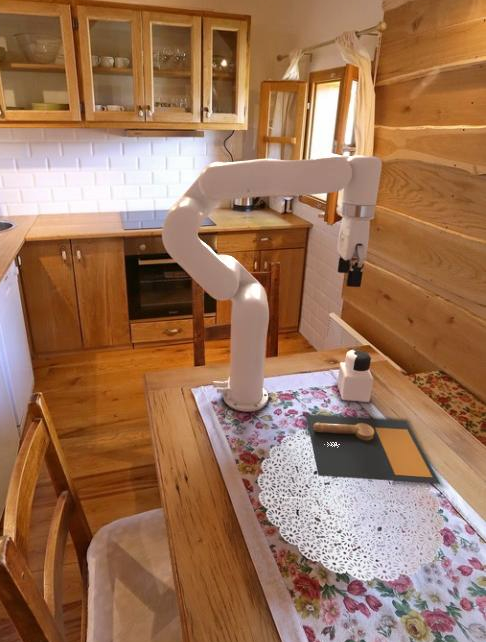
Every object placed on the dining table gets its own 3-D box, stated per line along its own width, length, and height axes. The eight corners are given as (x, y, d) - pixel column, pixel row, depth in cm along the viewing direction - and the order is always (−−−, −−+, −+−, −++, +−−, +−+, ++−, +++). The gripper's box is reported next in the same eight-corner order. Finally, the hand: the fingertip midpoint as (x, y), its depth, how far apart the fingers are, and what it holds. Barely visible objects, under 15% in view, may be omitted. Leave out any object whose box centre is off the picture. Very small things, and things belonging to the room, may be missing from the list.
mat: (318, 476, 89) (318, 474, 89) (305, 415, 108) (305, 414, 108) (440, 484, 87) (440, 483, 87) (405, 421, 106) (405, 420, 106)
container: (363, 386, 120) (369, 347, 116) (369, 402, 113) (377, 362, 109) (336, 384, 121) (342, 345, 117) (341, 400, 114) (347, 360, 110)
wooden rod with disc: (314, 437, 100) (315, 430, 99) (311, 424, 104) (312, 417, 103) (375, 441, 99) (377, 433, 98) (370, 428, 103) (371, 421, 103)
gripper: (334, 203, 103) (326, 267, 109) (350, 217, 87) (340, 291, 93) (363, 204, 103) (354, 268, 109) (386, 219, 87) (374, 293, 92)
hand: (348, 279), depth 101 cm, fingers open, 9 cm apart
